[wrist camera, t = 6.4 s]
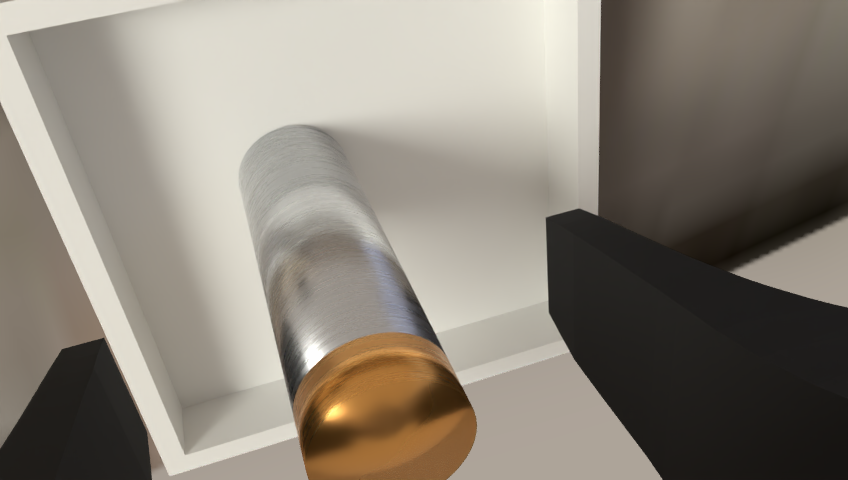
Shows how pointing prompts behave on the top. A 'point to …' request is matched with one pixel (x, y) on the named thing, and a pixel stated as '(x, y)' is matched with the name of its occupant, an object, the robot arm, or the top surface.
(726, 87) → the top surface
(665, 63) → the top surface
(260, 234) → the pin
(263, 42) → the tray
